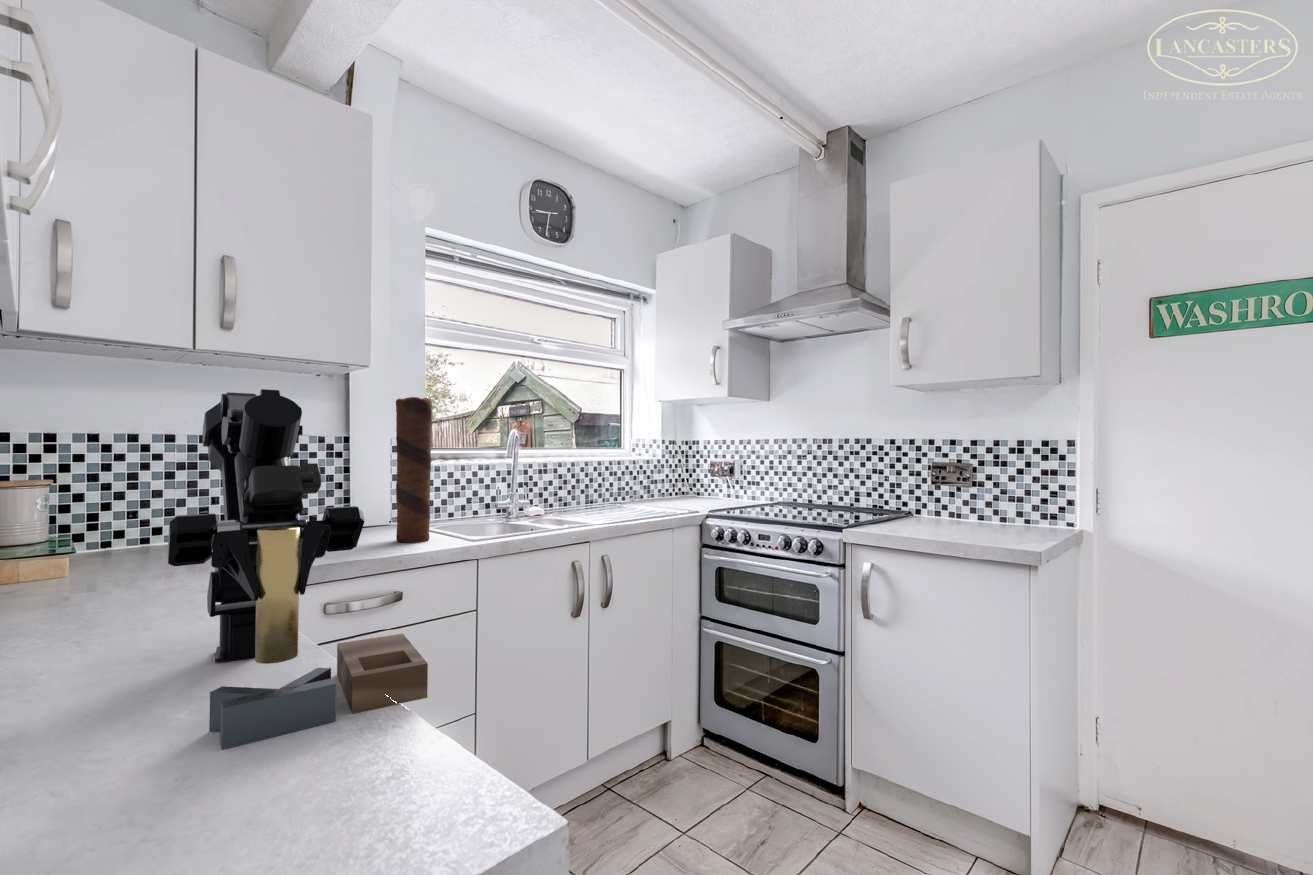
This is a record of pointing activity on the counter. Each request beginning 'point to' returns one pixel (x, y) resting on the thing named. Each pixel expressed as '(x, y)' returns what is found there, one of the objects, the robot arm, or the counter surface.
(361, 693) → the wooden socket block
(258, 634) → the brass axle
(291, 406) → the robot arm
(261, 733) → the steel V-block
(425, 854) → the counter surface
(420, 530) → the wafer roll
